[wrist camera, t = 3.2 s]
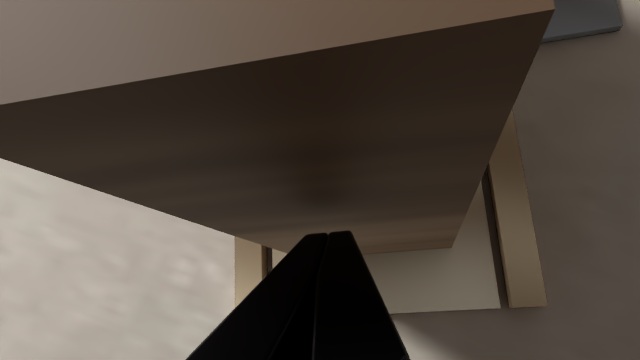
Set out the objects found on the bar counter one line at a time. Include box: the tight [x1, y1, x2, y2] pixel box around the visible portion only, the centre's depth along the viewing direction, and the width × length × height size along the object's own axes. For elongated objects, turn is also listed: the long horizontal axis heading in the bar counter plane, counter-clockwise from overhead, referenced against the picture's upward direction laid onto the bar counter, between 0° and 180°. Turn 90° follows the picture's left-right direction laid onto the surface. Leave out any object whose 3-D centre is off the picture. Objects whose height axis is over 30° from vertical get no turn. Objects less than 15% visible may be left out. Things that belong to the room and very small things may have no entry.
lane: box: [235, 0, 623, 314], centre depth 17 cm, size 21×18×3 cm
